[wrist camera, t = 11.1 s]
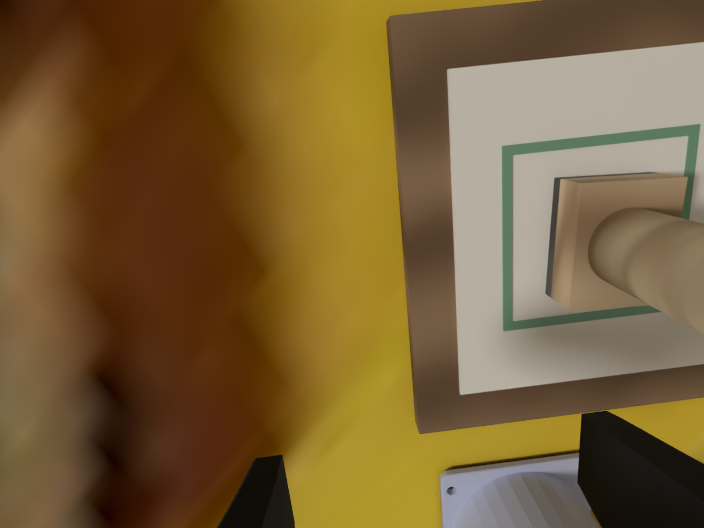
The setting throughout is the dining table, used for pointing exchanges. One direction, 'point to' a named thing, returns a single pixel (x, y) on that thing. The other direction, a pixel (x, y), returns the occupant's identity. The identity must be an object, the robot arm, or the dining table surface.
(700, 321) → the stamp
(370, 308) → the dining table surface
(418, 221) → the desk board
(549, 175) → the paper
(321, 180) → the dining table surface
